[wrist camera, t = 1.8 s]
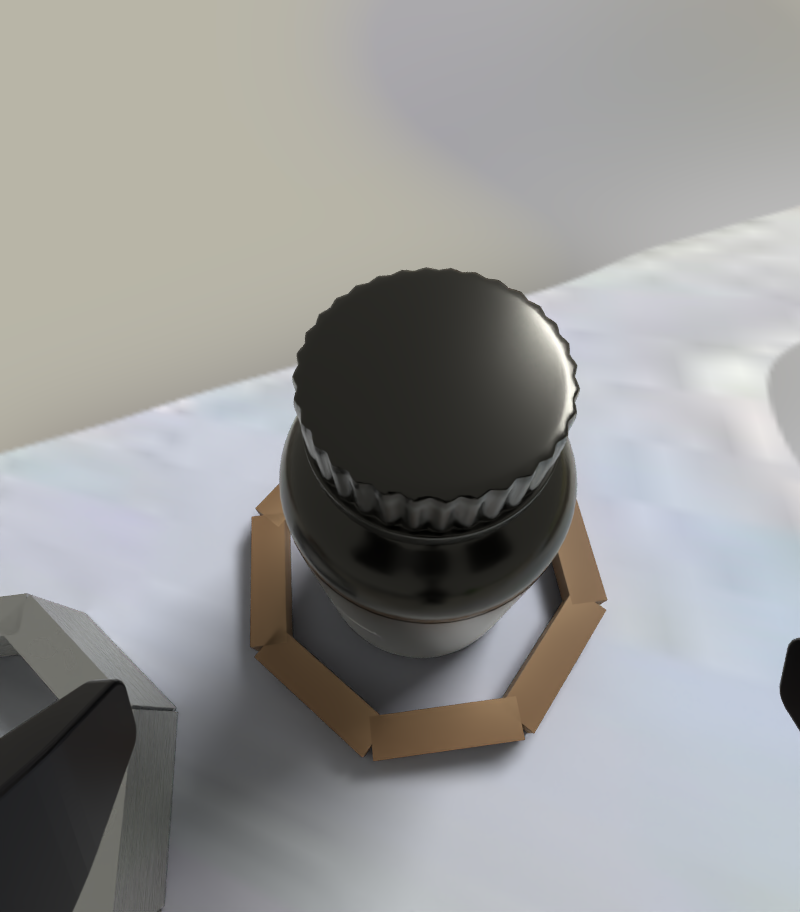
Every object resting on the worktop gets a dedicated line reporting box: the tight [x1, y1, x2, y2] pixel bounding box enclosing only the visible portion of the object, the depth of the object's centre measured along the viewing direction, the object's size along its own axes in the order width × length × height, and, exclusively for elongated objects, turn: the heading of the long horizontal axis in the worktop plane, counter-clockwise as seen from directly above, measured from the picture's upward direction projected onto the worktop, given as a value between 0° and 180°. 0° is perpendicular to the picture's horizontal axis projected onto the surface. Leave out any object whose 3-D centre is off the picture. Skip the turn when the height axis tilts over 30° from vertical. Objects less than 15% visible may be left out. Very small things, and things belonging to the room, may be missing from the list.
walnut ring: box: [250, 484, 607, 761], centre depth 19 cm, size 12×12×1 cm
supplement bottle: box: [279, 268, 580, 658], centre depth 14 cm, size 7×7×12 cm
